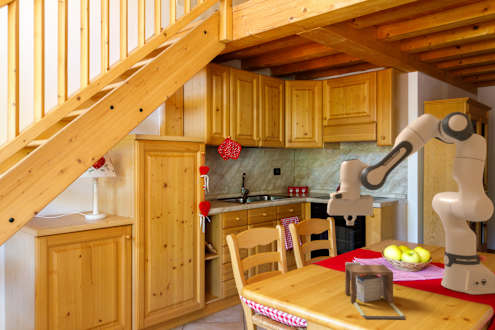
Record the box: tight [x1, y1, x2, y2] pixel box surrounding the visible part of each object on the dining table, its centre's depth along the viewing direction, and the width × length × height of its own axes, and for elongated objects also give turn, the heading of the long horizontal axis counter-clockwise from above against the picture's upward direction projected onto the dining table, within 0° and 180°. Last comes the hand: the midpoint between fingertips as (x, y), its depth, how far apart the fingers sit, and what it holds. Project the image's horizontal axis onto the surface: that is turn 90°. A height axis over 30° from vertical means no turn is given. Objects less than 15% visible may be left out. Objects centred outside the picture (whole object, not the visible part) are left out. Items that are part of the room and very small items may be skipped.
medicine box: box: [356, 275, 382, 303], centre depth 143 cm, size 8×4×9 cm, turn 111°
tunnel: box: [344, 264, 394, 305], centre depth 144 cm, size 15×10×12 cm, turn 89°
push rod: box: [344, 261, 361, 293], centre depth 159 cm, size 8×18×7 cm, turn 179°
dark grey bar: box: [363, 315, 406, 320], centre depth 126 cm, size 13×2×1 cm, turn 89°
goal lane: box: [353, 302, 406, 318], centre depth 132 cm, size 14×11×1 cm
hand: (350, 225), depth 171 cm, fingers closed
